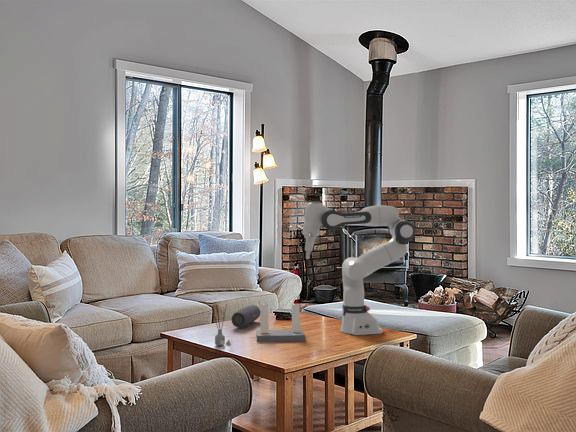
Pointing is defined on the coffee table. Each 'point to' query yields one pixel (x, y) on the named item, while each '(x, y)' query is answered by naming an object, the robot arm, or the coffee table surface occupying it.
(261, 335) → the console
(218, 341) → the reed diffuser
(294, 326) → the lever
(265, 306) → the lever
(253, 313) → the bluetooth speaker
